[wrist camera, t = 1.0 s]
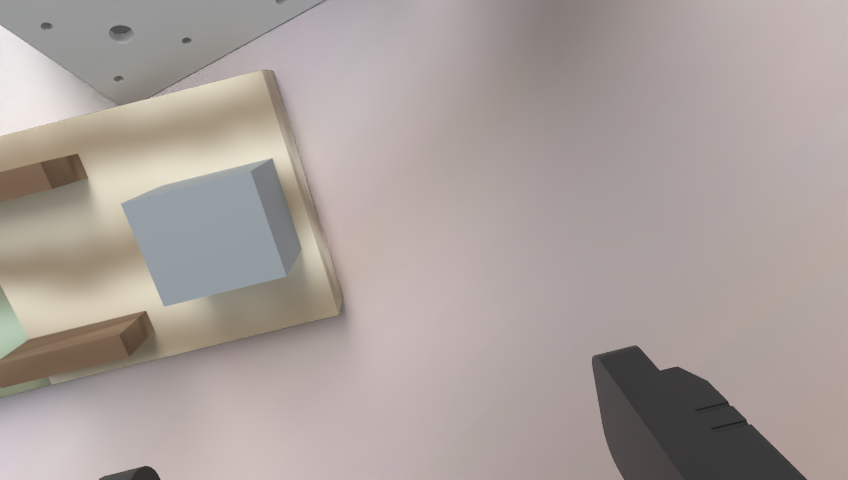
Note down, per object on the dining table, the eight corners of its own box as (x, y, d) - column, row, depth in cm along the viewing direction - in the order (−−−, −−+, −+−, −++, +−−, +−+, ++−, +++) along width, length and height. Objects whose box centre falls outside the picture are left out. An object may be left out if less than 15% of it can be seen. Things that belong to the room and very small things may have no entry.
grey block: (161, 185, 32) (120, 203, 27) (272, 157, 32) (250, 171, 27) (196, 275, 34) (164, 306, 29) (302, 249, 34) (286, 276, 29)
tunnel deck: (-250, 203, 34) (-394, 230, 28) (273, 70, 34) (245, 68, 27) (-119, 410, 39) (-217, 472, 33) (343, 297, 38) (333, 339, 32)
